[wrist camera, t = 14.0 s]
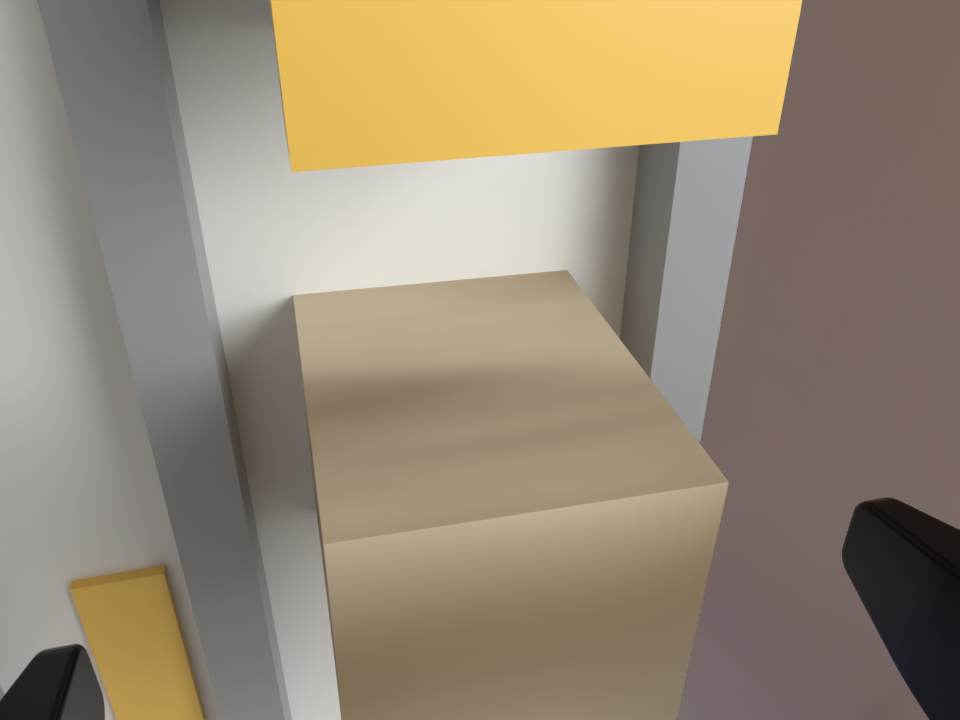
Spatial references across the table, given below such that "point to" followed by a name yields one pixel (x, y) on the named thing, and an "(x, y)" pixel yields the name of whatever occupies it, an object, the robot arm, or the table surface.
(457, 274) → the breaker panel
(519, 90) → the block
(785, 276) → the table surface
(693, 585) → the block
